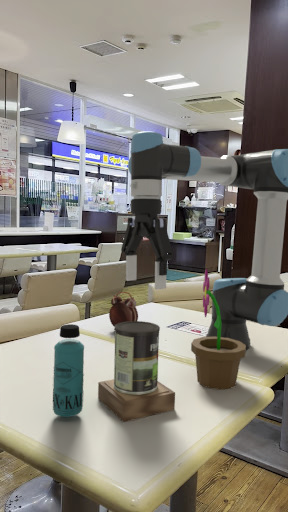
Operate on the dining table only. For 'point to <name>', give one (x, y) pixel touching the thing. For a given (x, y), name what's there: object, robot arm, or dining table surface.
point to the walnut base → (136, 401)
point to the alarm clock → (123, 310)
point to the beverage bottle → (68, 373)
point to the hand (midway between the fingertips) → (145, 284)
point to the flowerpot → (216, 352)
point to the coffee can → (136, 357)
